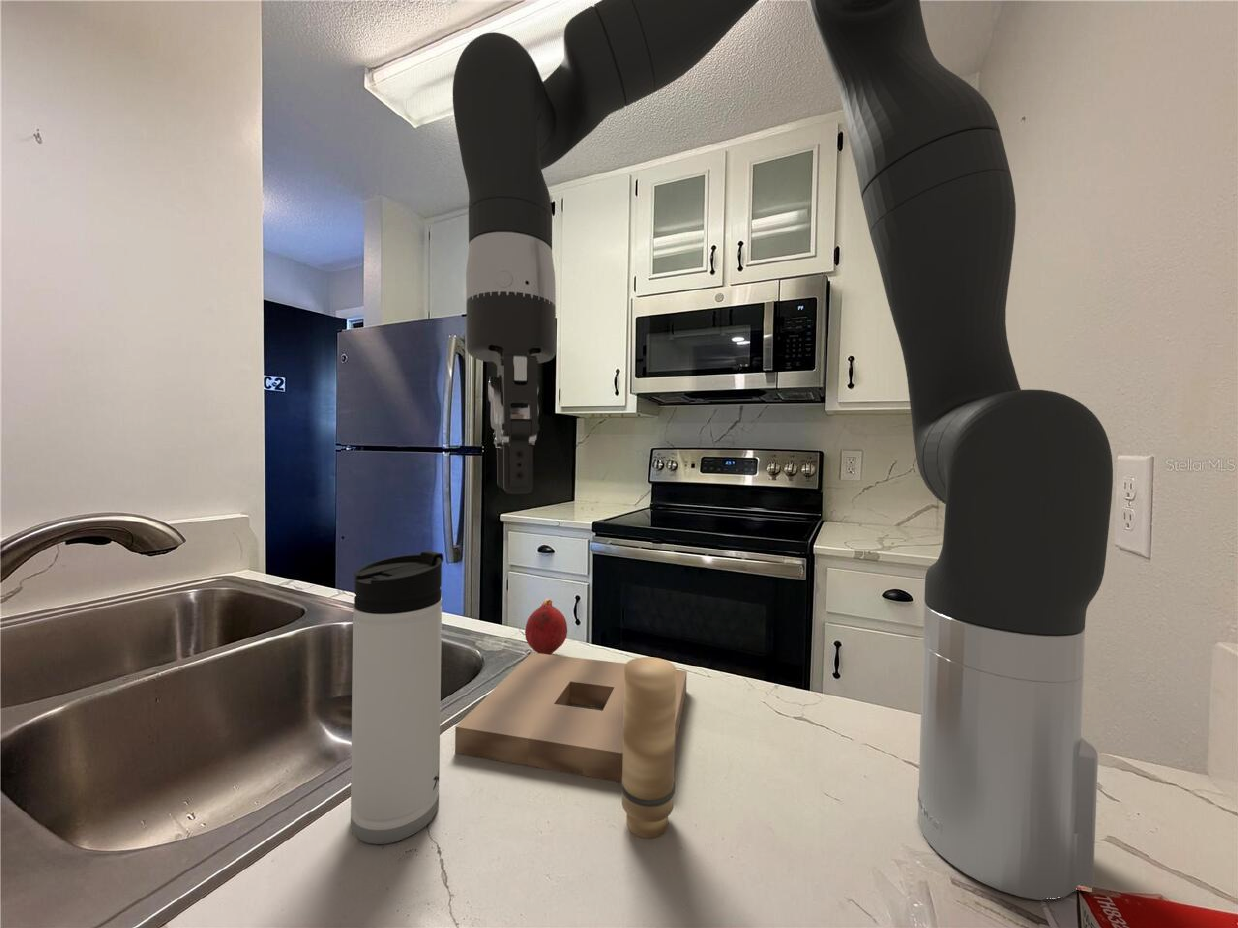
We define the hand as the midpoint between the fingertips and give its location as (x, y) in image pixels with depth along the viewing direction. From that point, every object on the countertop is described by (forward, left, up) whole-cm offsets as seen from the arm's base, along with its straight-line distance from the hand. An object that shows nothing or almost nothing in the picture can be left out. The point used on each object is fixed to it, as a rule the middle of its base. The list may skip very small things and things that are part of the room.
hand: (513, 490), depth 42 cm
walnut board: (-4, -11, -25) cm, 28 cm away
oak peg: (-13, +2, -25) cm, 28 cm away
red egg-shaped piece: (+6, -25, -25) cm, 36 cm away
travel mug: (+6, +6, -25) cm, 27 cm away
